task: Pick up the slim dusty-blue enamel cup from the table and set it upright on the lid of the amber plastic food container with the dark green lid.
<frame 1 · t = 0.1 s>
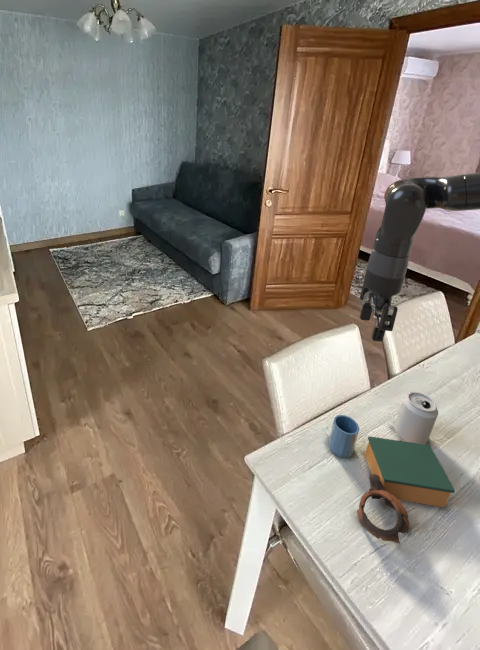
hand: (370, 329, 84), 30 cm above the table, tool pointing down, fingers open, 8 cm apart
cup: (340, 447, 87), on the table
container: (401, 479, 80), on the table
brown jagged ring: (379, 517, 72), on the table
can: (409, 435, 91), on the table
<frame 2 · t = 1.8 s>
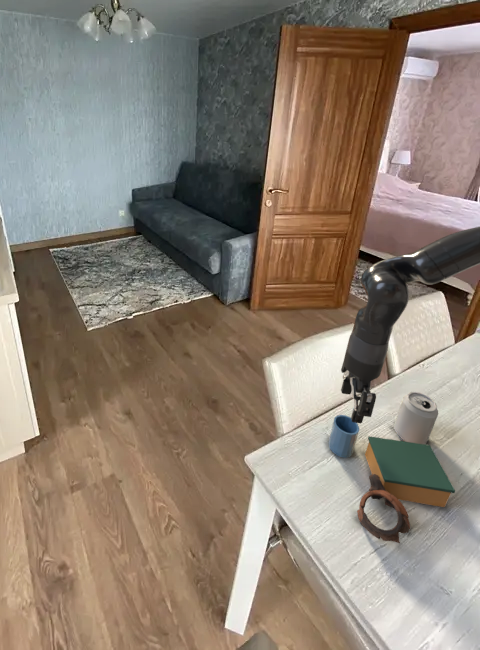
hand: (350, 406, 82), 14 cm above the table, tool pointing down, fingers open, 8 cm apart
nothing on the table moved.
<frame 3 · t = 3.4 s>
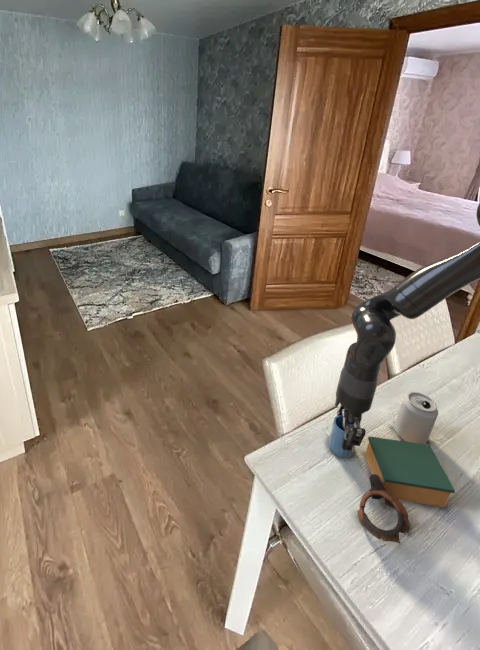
hand: (342, 437, 86), 4 cm above the table, tool pointing down, fingers closed on cup, 5 cm apart
cup: (340, 447, 87), on the table, touching gripper
everything else where it was.
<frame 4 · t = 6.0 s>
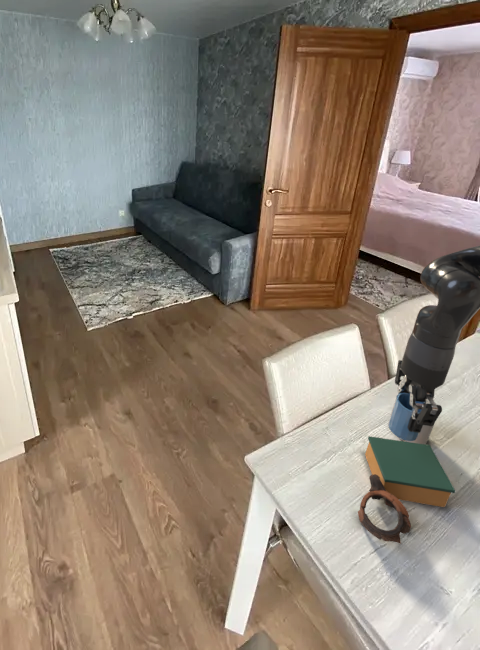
hand: (406, 418, 75), 17 cm above the table, tool pointing down, fingers closed on cup, 5 cm apart
cup: (402, 429, 76), point 14 cm above the table, touching gripper
everything else where it was.
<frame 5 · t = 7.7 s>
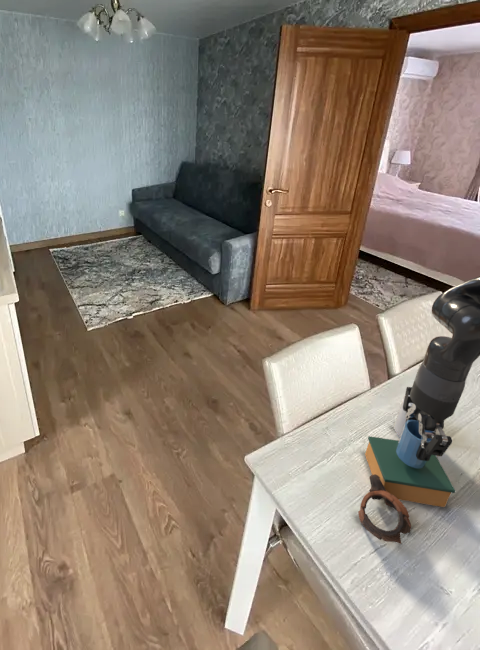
hand: (414, 445, 76), 11 cm above the table, tool pointing down, fingers closed on cup, 5 cm apart
cup: (410, 456, 77), point 8 cm above the table, touching gripper
everything else where it was.
when the fingers open (10 cm above the table, at t = 8.8 s): cup stays where it is, resting on container.
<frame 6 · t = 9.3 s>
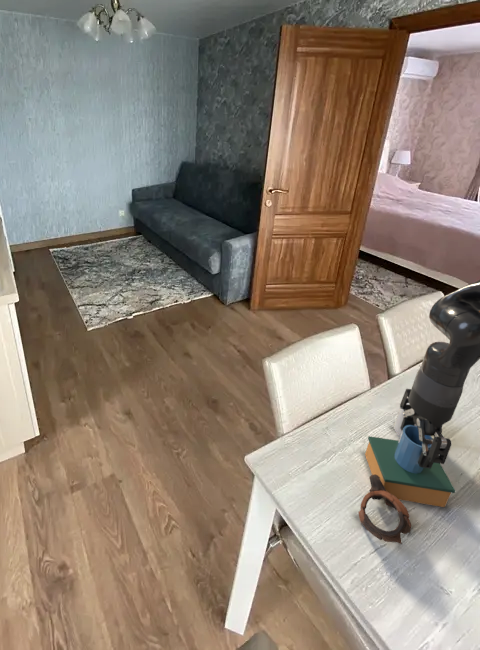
hand: (414, 447, 76), 10 cm above the table, tool pointing down, fingers open, 8 cm apart
cup: (408, 461, 78), point 6 cm above the table, touching container
container: (402, 479, 80), on the table, touching cup
everything else where it was.
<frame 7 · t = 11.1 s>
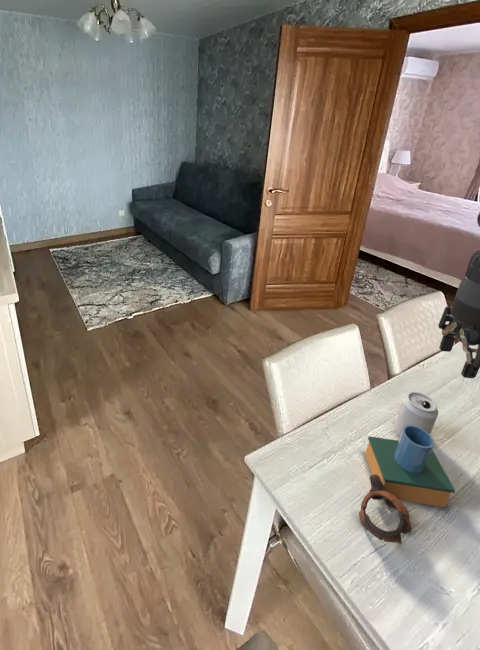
hand: (455, 362, 76), 28 cm above the table, tool pointing down, fingers open, 8 cm apart
nothing on the table moved.
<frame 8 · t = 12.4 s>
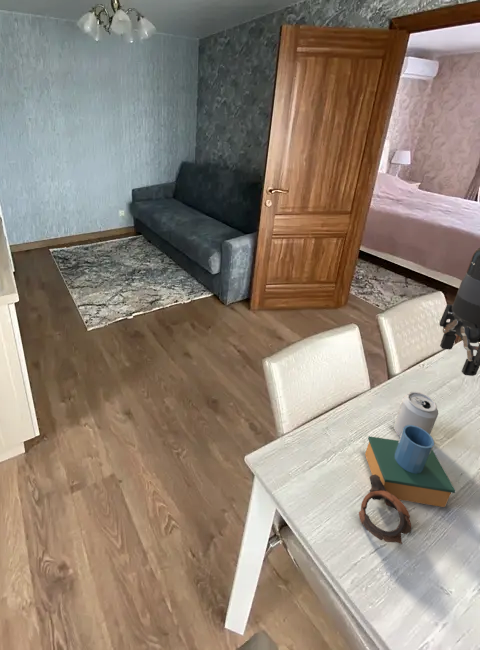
hand: (455, 360, 76), 28 cm above the table, tool pointing down, fingers open, 8 cm apart
nothing on the table moved.
at the end: cup inside the target area on the container (0.1 cm from its centre), point 6.0 cm above the container's base; cup tilted 0°; the gripper is holding nothing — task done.
